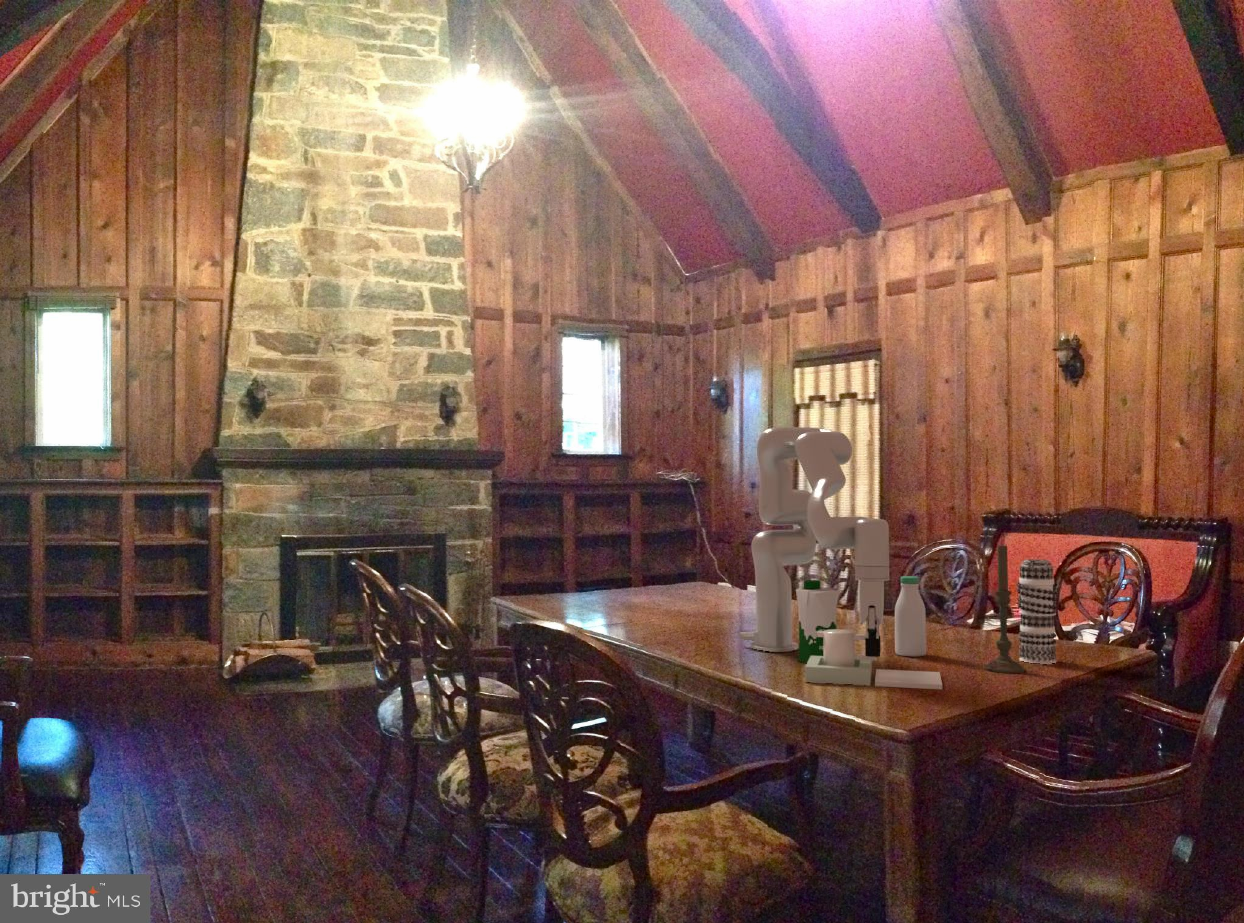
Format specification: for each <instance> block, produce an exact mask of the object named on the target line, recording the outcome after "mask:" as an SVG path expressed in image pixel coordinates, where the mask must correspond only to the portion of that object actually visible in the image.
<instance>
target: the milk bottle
mask: <svg viewBox="0 0 1244 923" xmlns="http://www.w3.org/2000/svg"><path fill="white" fill-rule="evenodd" d="M899 580H900V586H901V589H900V593H899V596H898V598H897V600H896V603H895V606H894V652H895V654H896V655H899V656H903V657H923V656H926V654H927V615H926V606H925V603H924V600H923V599H922V596H921V593H920V590H919V586H920V577H918V576H916V575H915V576H914V575H904V576H903V575H902V576H900V578H899Z"/></svg>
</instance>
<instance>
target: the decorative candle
mask: <svg viewBox="0 0 1244 923" xmlns="http://www.w3.org/2000/svg"><path fill="white" fill-rule="evenodd" d="M1018 566H1019V579H1018V582H1017V583H1016V585H1015V586H1017V589H1016V592H1017V594H1019V596H1018V597H1017V598H1016V599H1017V601H1018V604H1017V607H1018V608H1019V609H1020V610H1019V611H1018V614H1019V615H1020V624H1019V632H1018V635H1019V636H1020V638H1018V641H1019V642H1020V644H1019V645H1018V649H1019V652H1018V656H1020V657H1019V659H1018V660H1019V661H1020V662H1021V661H1024V662H1029V663H1028V664H1030V663H1040V664H1039V665H1043V664H1047V665H1053V664H1052V663H1055V664H1057V663H1056V662H1058V661H1057V660H1056V658H1057V656H1058V655H1057V653H1056V652H1057V650H1058V649H1057V647H1056V646H1055V644H1056V643H1057V640H1056V639H1055V638H1056V637H1057V634H1056V632H1055V631H1056V627H1055V625H1054V623H1055V618H1054V616H1056V615H1057V613H1056V611H1055V610H1056V609H1057V606H1056V605H1055V604H1054V602H1057V601H1058V598H1057V597H1055V595H1057V594H1058V592H1057V591H1056V590H1055V589H1054V588H1057V586H1058V584H1057V582H1055V578H1054V571H1053V570H1054V567H1056V566H1054V565H1052V563H1051V561H1050V560H1048V559H1042V558H1026V559H1024V560H1023V561H1022V562H1021V564H1019V565H1018ZM1024 662H1023V663H1024Z"/></svg>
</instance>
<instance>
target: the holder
mask: <svg viewBox="0 0 1244 923" xmlns="http://www.w3.org/2000/svg"><path fill="white" fill-rule="evenodd" d="M872 661H873V660H855V667H847V666H825V665H824V659H823V656H810V658H809V660H808V662H807V664H806V663H805V666H804V669H805V670H804V672H805V674H804V678H805V679H804V680H805V682H810V683H809V684H825V683H833V684H832V685H844V684H853V685H852V686H864V685H866V686H869V687H870V686H871V684H872V674H873V669H872V668H873V662H872ZM805 682H804V683H805ZM866 686H865V687H866Z"/></svg>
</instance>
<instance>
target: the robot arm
mask: <svg viewBox="0 0 1244 923" xmlns="http://www.w3.org/2000/svg"><path fill="white" fill-rule="evenodd" d="M757 440H758V441H757V446H756V455H757V462H758V467H759V495H758V514H759V518H760V521H761V522H762V523H763V524H765V525H768V526H792V529H767V530H763V531H761V532H760V531H759V532H758V533H756V534H755V535H754V537H753V538H752V540H751V545H750V546H751V547H750V548H751V555H752V560H753V566H754V577H755V579H754V580H755V630H754V631H751V632H748V631H747V632H743V631H741V632H740V633H739V640H743V641H751V643H750V648H751V647H752V648H753V649H752V648H751V649H752V650H754V649H757V650H756V651H758V650H763V651H762V652H765V651H769V652H768V653H789V652H794V651H797V650H799V643H796V642H793V623H792V621H793V617H792V616H793V613H792V612H793V610H792V609H793V608H792V602H793V601H792V600H793V599H792V580H791V577H790V576H789V574H788V572H787V571H786V569H785V566H799V565H806V564H808V563H810V562H811V561H812V560H813V559H814V558H815V555H816V549H817V543H818V544H819V545H820V546H821V547H822V548H824V549H826V550H854V580H856V581H859V589H858V590H859V592H858V593H859V594H858V596H859V599H858V601H859V602H858V604H859V605H858V606H859V610H858V611H859V612H858V613H859V614H858V615H859V617H858V618H859V622H858V623H859V624H860V626H861V625H863V624H865V634H866V638H865V640H864V644H865V645H864V650H865V651H864V652H865V653H864V654H865V655H866V656H868V657H877V658H879V657H881V635H880V626H881V625H882V623H883V619H884V618H883V617H884V607H885V606H884V605H885V582H887V581H890V537H889V536H890V535H889V534H890V533H889V528H890V527H889V523H888V522H887V520H885V519H882V518H869V517H868V516H831V514H830V513H829V511H828V509H827V507H826V504H825V500H827V499H829V498H831V497H833V496H835V495H836V494H837V493H839V492H840V491H841V490H842V489H844V487H845V485H846V483H847V478H846V475H845V473H844V471H843V469H842V467H841V465H843V466H844V465H845V464H847V463H848V462H850V460H851V458H852V455H853V446H852V442H851V440H850V439H849V437H848V436H847V435H846V434H845V433H843V432H842V431H837V430H830V429H827V428H820V427H803V426H800V427H799V426H798V427H796V426H776V427H771V428H767V429H766V430H764V431H763V432H761V434H760V436H759V438H758V439H757ZM786 460H798V461H799V463H800V466H801V468H802V470H803V472H804V475H805V476H806V479H807V481H808V483H809V486H810V489H811V490H812V491H811V492H810V491H808V490H805V489H793V474H792V473H793V472H792V469H791V468H790V466H789V464H788V462H787V461H786ZM793 650H794V651H793Z"/></svg>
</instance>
